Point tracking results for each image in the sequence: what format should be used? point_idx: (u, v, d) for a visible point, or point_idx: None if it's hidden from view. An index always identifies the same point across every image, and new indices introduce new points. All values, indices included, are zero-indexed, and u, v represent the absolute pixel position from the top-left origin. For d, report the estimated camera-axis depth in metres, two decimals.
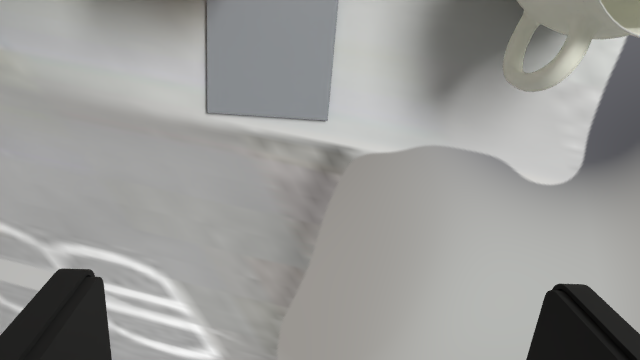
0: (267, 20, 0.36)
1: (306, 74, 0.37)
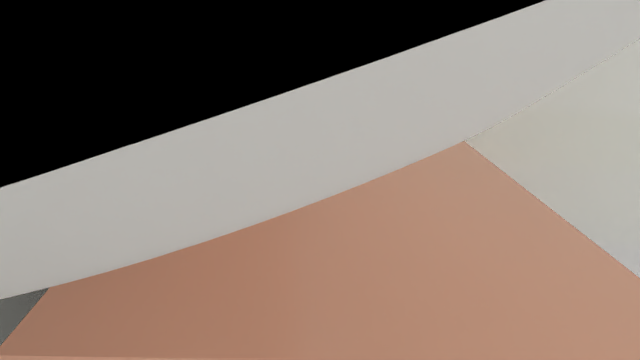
0: None
1: None
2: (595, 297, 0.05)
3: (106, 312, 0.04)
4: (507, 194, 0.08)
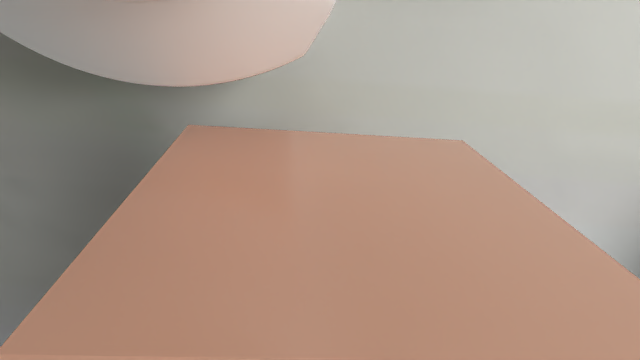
0: None
1: None
2: (594, 297, 0.05)
3: (107, 311, 0.05)
4: (507, 194, 0.08)
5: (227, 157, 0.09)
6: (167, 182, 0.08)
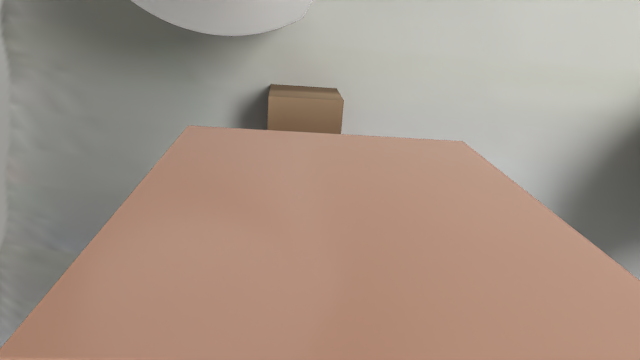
0: None
1: None
2: (595, 300, 0.05)
3: (106, 314, 0.05)
4: (506, 195, 0.08)
5: (227, 158, 0.09)
6: (167, 184, 0.08)
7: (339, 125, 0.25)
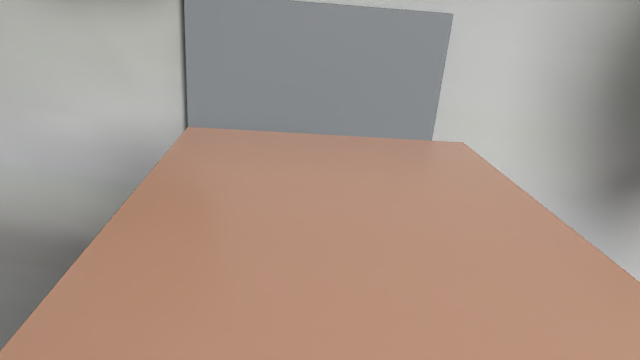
0: (307, 68, 0.18)
1: None
2: (597, 303, 0.05)
3: (105, 319, 0.04)
4: (508, 197, 0.08)
5: (227, 160, 0.09)
6: (167, 186, 0.08)
7: None
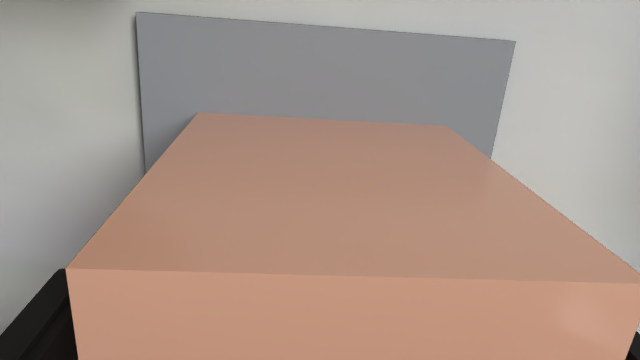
0: (312, 116, 0.13)
1: None
2: (539, 240, 0.07)
3: (146, 244, 0.06)
4: (479, 167, 0.10)
5: (235, 138, 0.10)
6: (184, 157, 0.09)
7: None
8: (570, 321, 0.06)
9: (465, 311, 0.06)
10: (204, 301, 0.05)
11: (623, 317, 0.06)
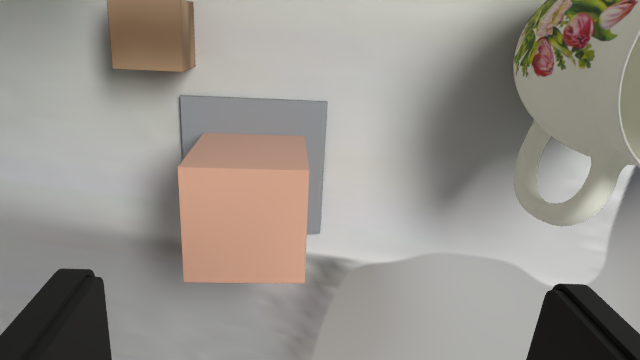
0: (249, 133, 0.32)
1: None
2: (292, 164, 0.26)
3: (193, 164, 0.25)
4: (298, 149, 0.29)
5: (217, 141, 0.30)
6: (200, 147, 0.28)
7: (178, 24, 0.26)
8: (291, 180, 0.25)
9: (266, 177, 0.25)
10: (206, 174, 0.25)
11: (304, 179, 0.25)
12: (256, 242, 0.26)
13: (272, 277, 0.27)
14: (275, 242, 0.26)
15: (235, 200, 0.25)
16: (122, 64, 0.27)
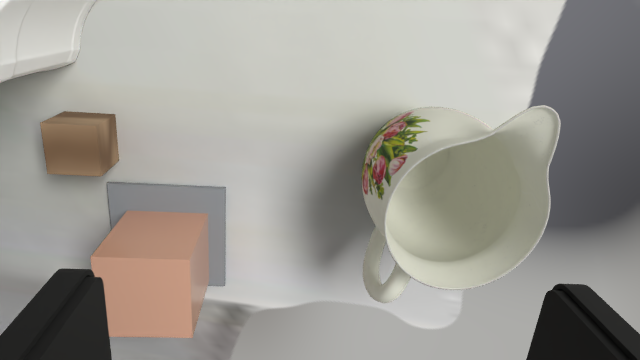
0: (163, 211, 0.41)
1: None
2: (180, 251, 0.34)
3: (103, 253, 0.34)
4: (194, 232, 0.37)
5: (133, 223, 0.38)
6: (116, 231, 0.37)
7: (96, 143, 0.35)
8: (177, 266, 0.34)
9: (157, 264, 0.33)
10: (112, 262, 0.33)
11: (186, 265, 0.34)
12: (153, 309, 0.35)
13: (167, 333, 0.36)
14: (168, 309, 0.35)
15: (135, 279, 0.34)
16: (54, 171, 0.35)
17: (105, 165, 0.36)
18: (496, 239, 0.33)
